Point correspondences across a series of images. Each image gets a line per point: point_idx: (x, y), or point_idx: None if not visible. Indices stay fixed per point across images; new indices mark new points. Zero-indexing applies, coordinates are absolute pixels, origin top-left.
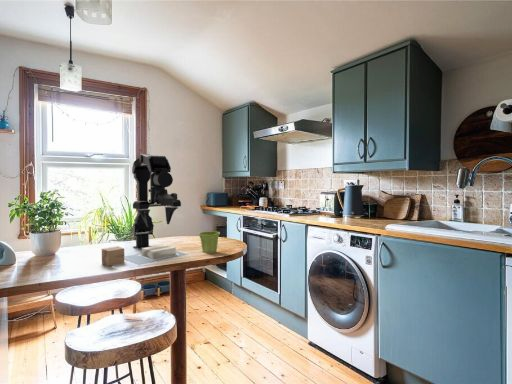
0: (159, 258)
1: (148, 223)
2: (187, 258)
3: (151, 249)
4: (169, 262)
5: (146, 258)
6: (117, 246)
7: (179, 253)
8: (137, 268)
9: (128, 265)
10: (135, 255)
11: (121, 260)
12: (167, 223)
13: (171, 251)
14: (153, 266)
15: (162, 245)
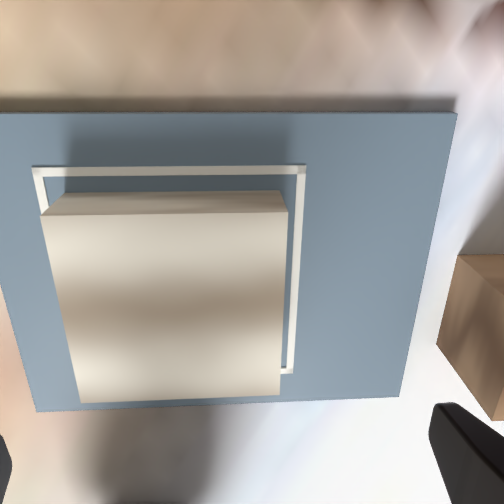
0: (241, 166)
1: (484, 443)
2: (10, 24)
3: (253, 302)
4: (219, 21)
5: (306, 248)
6: (496, 416)
7: (14, 211)
8: (500, 53)
9: (473, 193)
10: (306, 375)
11: (493, 267)
12: (3, 466)
13: (99, 204)
14: (390, 4)
15: (101, 377)
